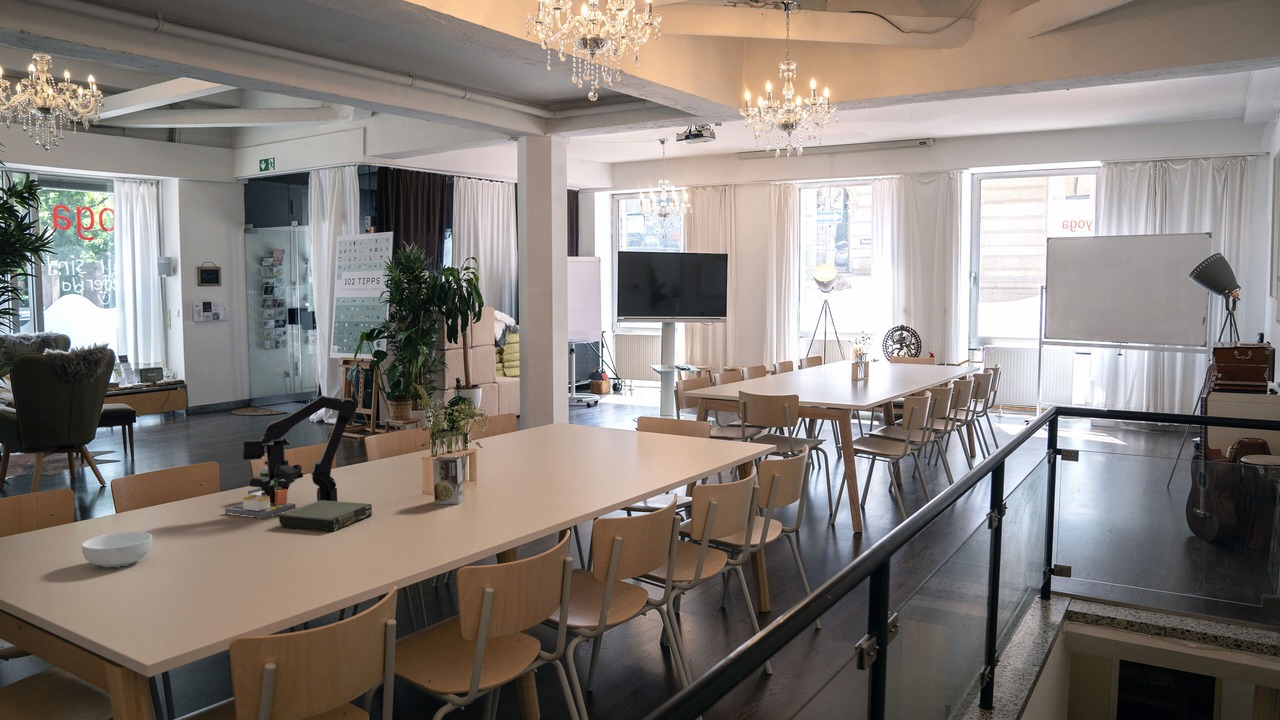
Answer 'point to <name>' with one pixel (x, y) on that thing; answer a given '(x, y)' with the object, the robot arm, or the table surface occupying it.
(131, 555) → the cereal bowl
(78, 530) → the table surface
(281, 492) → the cap
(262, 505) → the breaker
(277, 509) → the panel
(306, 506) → the network switch
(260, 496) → the block
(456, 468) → the coffee box
